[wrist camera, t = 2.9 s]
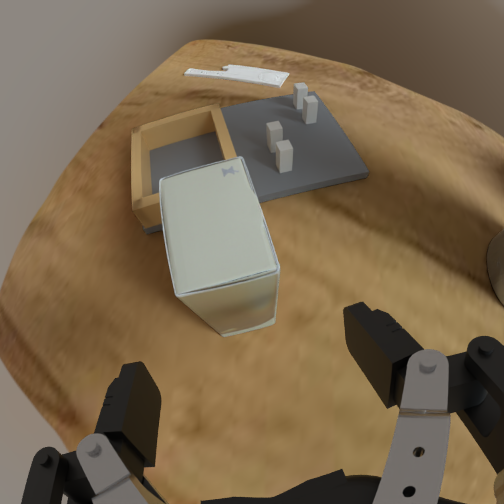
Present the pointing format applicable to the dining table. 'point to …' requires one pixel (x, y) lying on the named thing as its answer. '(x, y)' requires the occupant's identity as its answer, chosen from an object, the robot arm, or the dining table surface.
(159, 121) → the board
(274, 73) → the white plastic strip tool
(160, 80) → the dining table surface
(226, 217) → the skincare box
